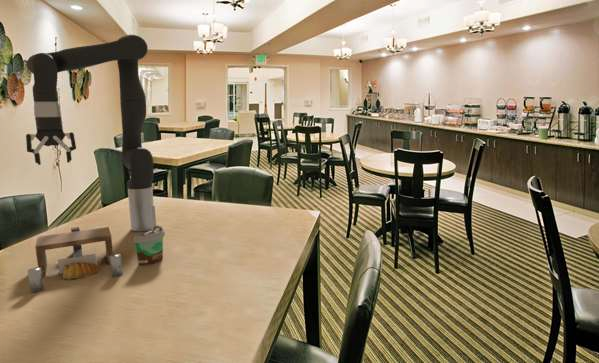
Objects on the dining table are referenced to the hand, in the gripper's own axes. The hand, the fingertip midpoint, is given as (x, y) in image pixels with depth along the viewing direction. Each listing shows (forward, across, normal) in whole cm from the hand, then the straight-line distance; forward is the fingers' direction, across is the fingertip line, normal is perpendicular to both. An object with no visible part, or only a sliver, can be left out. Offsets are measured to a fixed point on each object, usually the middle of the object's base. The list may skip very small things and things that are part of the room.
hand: (54, 163), depth 137 cm
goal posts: (+30, -4, +36) cm, 47 cm away
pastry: (+30, -4, +30) cm, 43 cm away
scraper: (+30, -4, +17) cm, 35 cm away
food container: (+30, -26, +30) cm, 50 cm away
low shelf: (+30, -4, +21) cm, 37 cm away
